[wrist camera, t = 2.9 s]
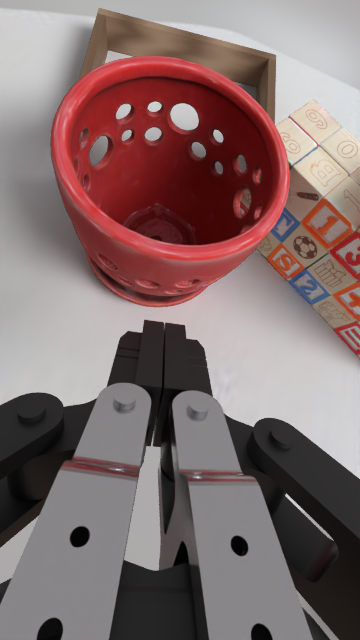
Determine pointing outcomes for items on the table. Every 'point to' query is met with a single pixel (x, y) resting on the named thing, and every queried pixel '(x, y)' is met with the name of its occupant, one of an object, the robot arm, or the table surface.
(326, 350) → the table surface
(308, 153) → the stack of blocks
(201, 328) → the table surface
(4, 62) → the table surface
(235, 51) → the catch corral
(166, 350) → the robot arm
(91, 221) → the plant pot
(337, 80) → the table surface
